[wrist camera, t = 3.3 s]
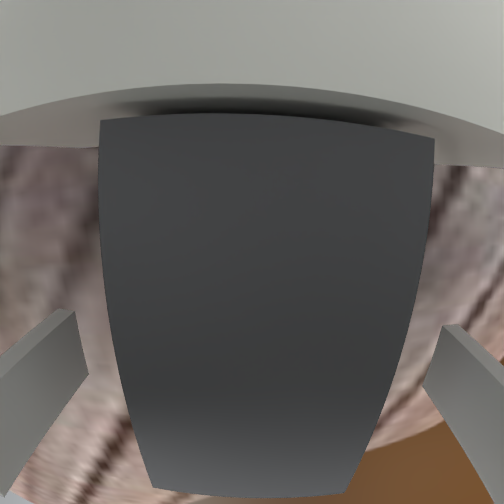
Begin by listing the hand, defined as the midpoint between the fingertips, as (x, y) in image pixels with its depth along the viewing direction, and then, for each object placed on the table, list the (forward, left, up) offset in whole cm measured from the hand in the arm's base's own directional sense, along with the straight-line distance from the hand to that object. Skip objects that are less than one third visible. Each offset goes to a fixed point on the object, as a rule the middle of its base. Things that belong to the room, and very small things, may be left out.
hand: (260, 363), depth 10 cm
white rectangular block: (-12, 0, -6) cm, 14 cm away
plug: (-3, 0, -5) cm, 6 cm away
